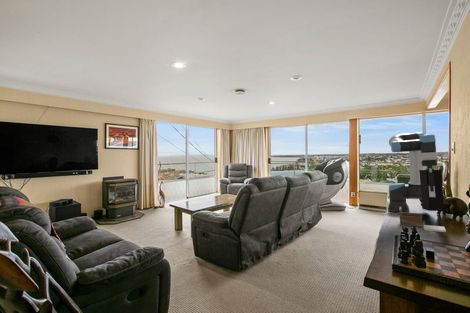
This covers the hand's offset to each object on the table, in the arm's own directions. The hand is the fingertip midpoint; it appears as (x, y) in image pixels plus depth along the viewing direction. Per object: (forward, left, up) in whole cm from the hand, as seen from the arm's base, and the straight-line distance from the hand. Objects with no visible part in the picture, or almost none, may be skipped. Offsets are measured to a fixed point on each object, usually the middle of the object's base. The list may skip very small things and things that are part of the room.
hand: (431, 195), depth 147 cm
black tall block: (0, 0, -9) cm, 9 cm away
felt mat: (0, 0, -20) cm, 20 cm away
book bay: (-10, -11, -20) cm, 25 cm away
